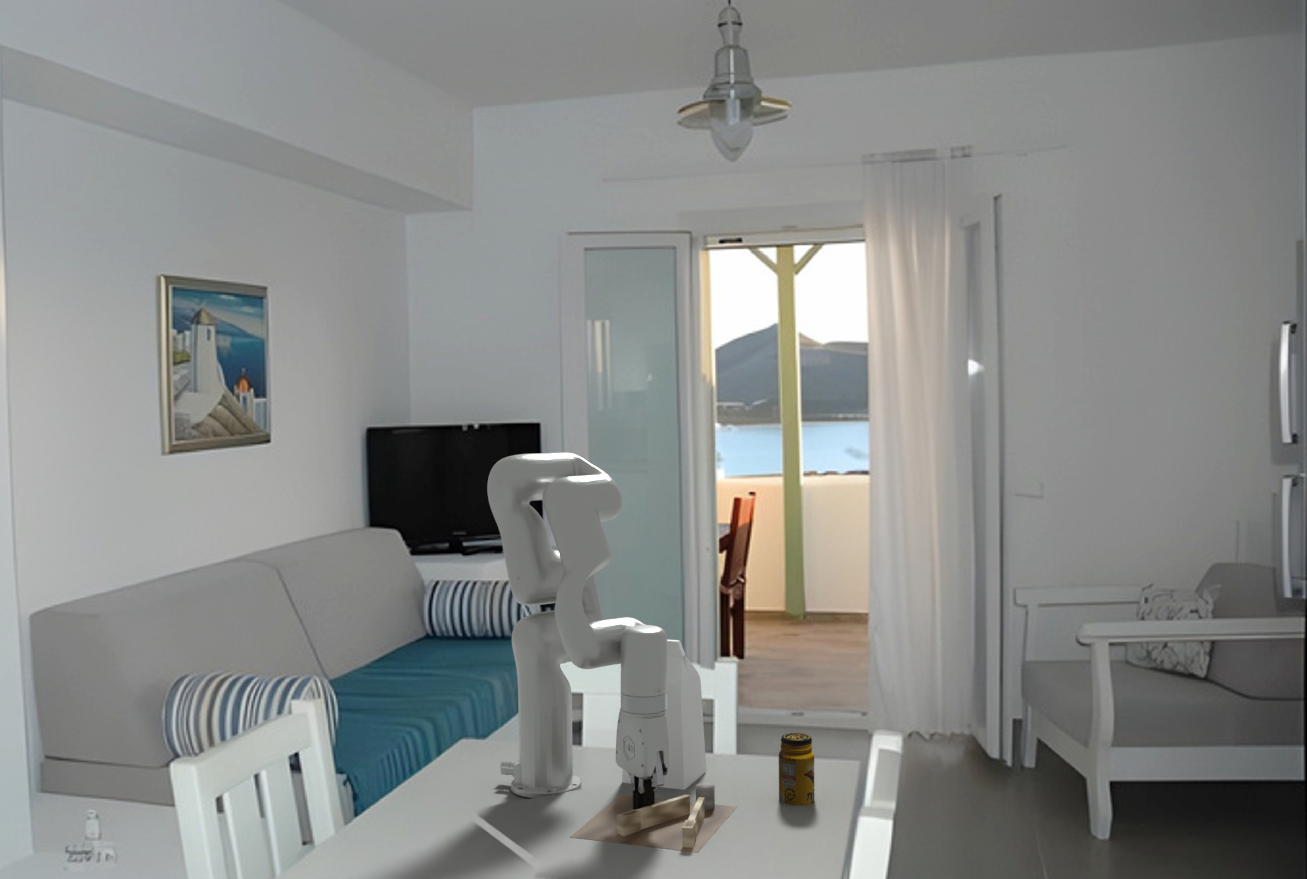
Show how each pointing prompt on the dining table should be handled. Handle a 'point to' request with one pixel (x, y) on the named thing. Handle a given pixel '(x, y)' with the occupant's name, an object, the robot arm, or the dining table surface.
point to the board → (654, 836)
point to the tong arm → (652, 815)
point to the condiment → (796, 770)
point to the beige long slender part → (698, 813)
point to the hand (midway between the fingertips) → (643, 814)
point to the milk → (682, 721)
